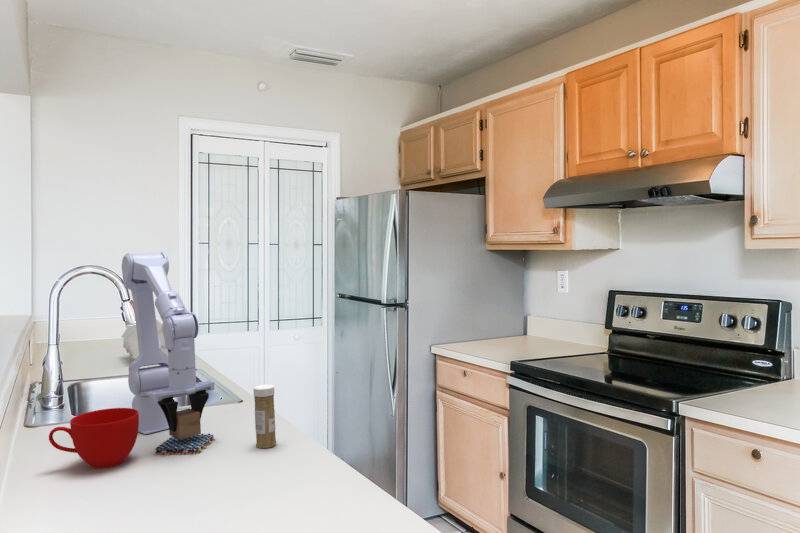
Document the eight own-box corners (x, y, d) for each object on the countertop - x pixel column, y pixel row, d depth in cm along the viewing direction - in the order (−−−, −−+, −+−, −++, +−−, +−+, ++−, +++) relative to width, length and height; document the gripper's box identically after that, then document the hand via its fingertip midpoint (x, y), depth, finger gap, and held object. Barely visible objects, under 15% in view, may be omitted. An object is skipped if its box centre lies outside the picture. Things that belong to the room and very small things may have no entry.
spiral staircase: (144, 377, 234) (132, 364, 255) (185, 353, 242) (171, 342, 263) (120, 337, 228) (110, 328, 249) (164, 314, 236) (151, 306, 257)
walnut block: (169, 435, 135) (168, 413, 135) (190, 429, 139) (189, 408, 139) (179, 439, 132) (178, 417, 132) (200, 433, 135) (199, 412, 135)
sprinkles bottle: (279, 446, 134) (277, 386, 134) (259, 450, 131) (257, 389, 131) (271, 440, 138) (269, 382, 137) (252, 445, 135) (250, 386, 135)
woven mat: (152, 457, 130) (151, 448, 130) (173, 441, 141) (172, 433, 141) (199, 457, 130) (198, 448, 130) (216, 441, 140) (216, 432, 140)
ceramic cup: (54, 461, 128) (52, 415, 128) (140, 448, 135) (138, 404, 135) (45, 482, 116) (43, 431, 116) (140, 467, 123) (138, 419, 123)
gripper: (158, 375, 127) (161, 439, 127) (220, 364, 137) (222, 423, 138) (144, 371, 132) (146, 432, 132) (204, 361, 142) (207, 417, 143)
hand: (184, 427), depth 135 cm, fingers closed on walnut block, 5 cm apart
